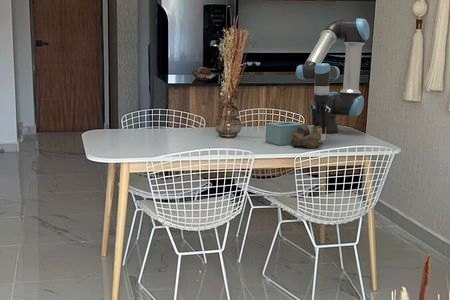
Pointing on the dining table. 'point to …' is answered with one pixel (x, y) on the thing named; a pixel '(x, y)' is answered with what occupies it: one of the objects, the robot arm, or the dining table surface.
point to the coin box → (281, 132)
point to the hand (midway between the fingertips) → (319, 139)
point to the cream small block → (319, 131)
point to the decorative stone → (306, 137)
